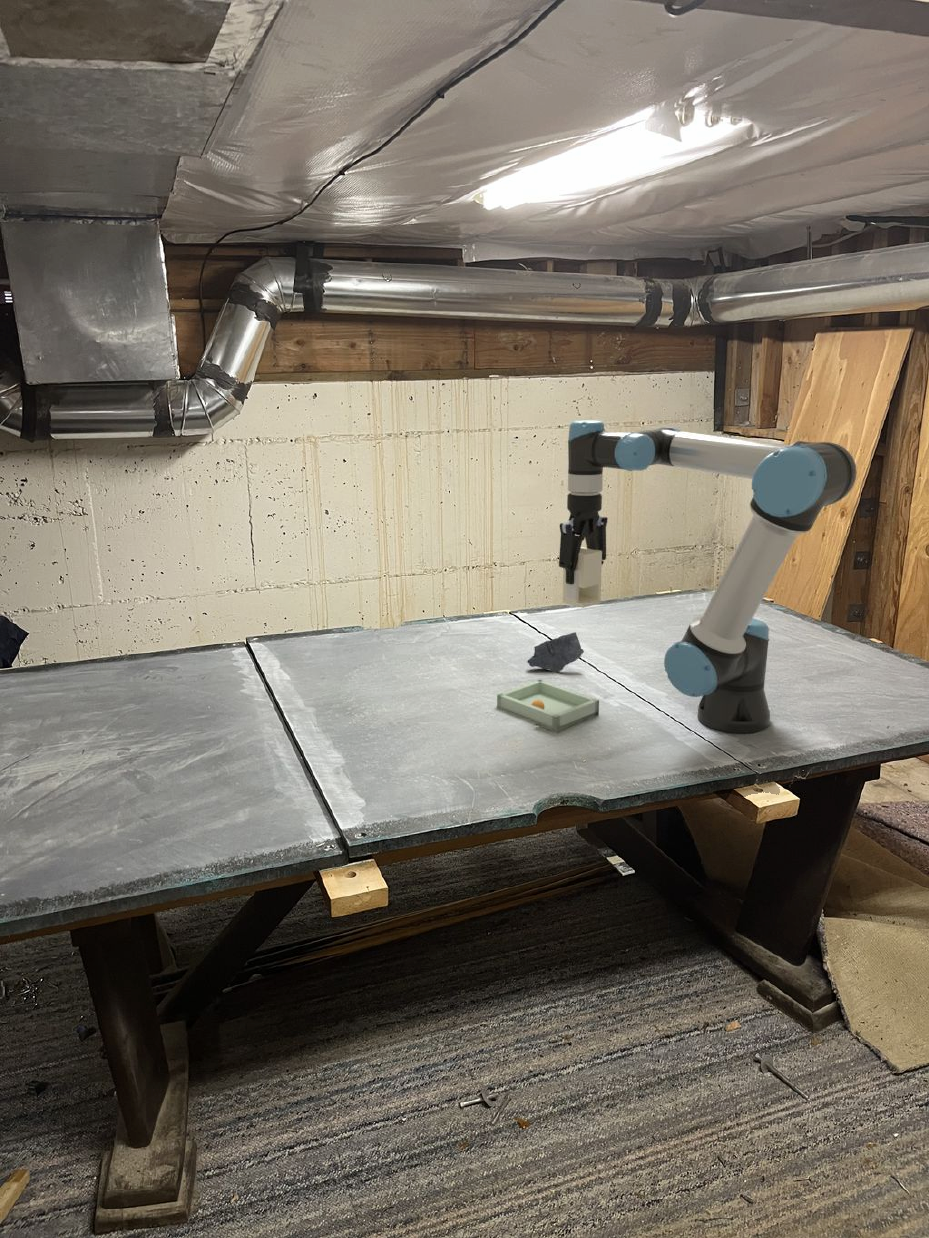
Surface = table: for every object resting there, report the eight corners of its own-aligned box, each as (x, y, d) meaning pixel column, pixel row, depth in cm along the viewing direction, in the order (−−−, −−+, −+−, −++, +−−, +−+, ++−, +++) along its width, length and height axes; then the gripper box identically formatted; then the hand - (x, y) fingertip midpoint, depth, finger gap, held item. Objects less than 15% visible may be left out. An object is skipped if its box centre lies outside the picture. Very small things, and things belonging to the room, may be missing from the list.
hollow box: (600, 602, 203) (602, 550, 200) (582, 607, 199) (584, 555, 196) (580, 597, 207) (581, 546, 204) (562, 602, 204) (563, 550, 200)
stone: (535, 678, 222) (536, 640, 219) (524, 671, 227) (525, 633, 224) (584, 671, 227) (585, 633, 224) (573, 664, 232) (573, 627, 229)
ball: (546, 703, 199) (535, 696, 199) (547, 705, 196) (535, 698, 196) (540, 714, 199) (528, 708, 199) (540, 717, 196) (528, 710, 196)
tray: (598, 714, 199) (599, 700, 198) (556, 732, 191) (556, 717, 190) (539, 693, 212) (539, 679, 211) (497, 709, 203) (497, 694, 202)
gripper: (599, 486, 205) (596, 584, 211) (542, 495, 193) (541, 599, 199) (625, 489, 199) (621, 590, 206) (568, 499, 187) (566, 606, 194)
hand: (582, 594), depth 203 cm, fingers closed on hollow box, 6 cm apart
